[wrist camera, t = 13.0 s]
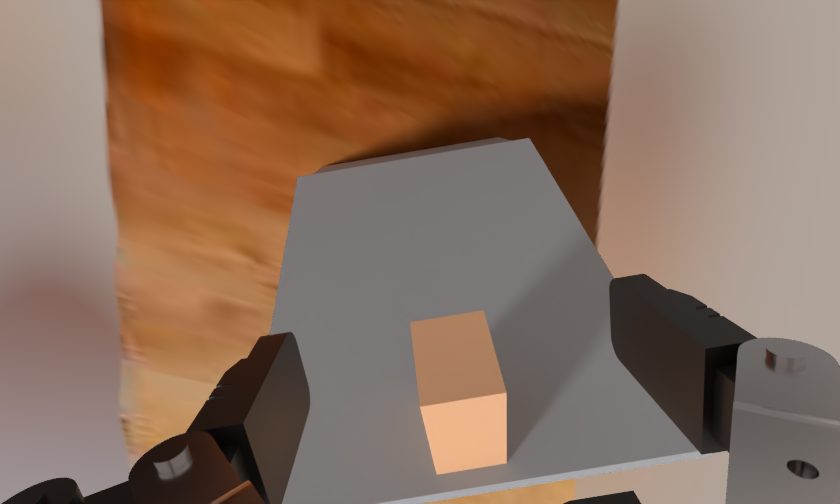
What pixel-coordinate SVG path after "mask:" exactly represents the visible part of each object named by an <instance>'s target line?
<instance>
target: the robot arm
mask: <svg viewBox="0 0 840 504" xmlns="http://www.w3.org/2000/svg"><path fill="white" fill-rule="evenodd" d="M609 299H610V327H611V341H612V345H613V349H614V351H615V354H616V356H617V358H618V359H619V361H620V362H621V363H622V364H623V365H624V366H625V368H626V369H627V370H628V371H629V372H630V373H631V374H632V376H633V377H634V378H635V379H636V380H637V381H638V383H639V384H640V385H641V386H642V387H643V388H644V389H645V391H646V392H647V393H648V394H649V395H650V396H651V397H652V399H653V400H654V401H655V402H656V403H657V404H658V405H659V407H660V408H661V409H662V410H663V411H664V412H665V413H666V415H667V416H668V417H669V418H670V419H671V420H672V421H673V423H674V424H675V425H676V426H677V427H678V428H679V429H680V431H681V432H682V433H683V434H684V435H685V436H686V438H687V439H688V440H689V441H690V442H691V443H692V444H693V446H694V447H695V448H696V449H697V450H698V451H699V452H700V454H701V455H703V454H709V453H716V452H721V451H728V452H729V466H728V479H727V492H726V504H840V366H839V364H838V362H837V361H836V359H835V358H834V357H833V356H831V355H830V354H829V353H827V352H825V351H824V350H822V349H820V348H817V347H815V346H813V345H810V344H806V343H803V342H799V341H795V340H790V339H783V338H756V337H755V336H753V335H751V334H750V333H749V332H747V331H745V330H744V329H742V328H741V327H739V326H738V325H736V324H735V323H733V322H731V321H730V320H728V319H727V318H725V317H724V316H720V314H719V313H717V312H716V311H714V310H713V309H711V308H707V306H706V305H705V304H703V303H702V302H700V301H699V300H697V299H696V298H694V297H692V296H690V295H687V294H684V293H681V292H678V291H675V290H672V289H666V288H665V287H663V286H662V285H660V284H659V283H658V282H656V281H654V280H653V279H651V278H650V277H649V276H647V275H645V274H639V275H633V276H628V277H621V278H615V279H612V280H611V282H610V286H609ZM216 387H217V388H216V389H214V390H213V392H212V393H211V395H210V396H209V400H207V401H206V402H205V404H204V405H203V407H202V409H201V410H200V412H199V413H198V415H197V416H196V418H195V419H194V421H193V422H192V424H191V425H190V427H189V428H188V430H187V431H186V433H183V434H179V435H177V436H174V437H171V438H169V439H167V440H165V441H163V442H161V443H159V444H158V445H156V446H154V447H153V448H151V449H150V450H149V451H147V452H146V453H145V454H144V455H143V456H142V457H141V458H139V460H138V461H137V462H136V463H135V464H134V466H133V467H132V469H131V471H130V473H129V477H128V481H126V482H124V483H121V484H118V485H116V486H113V487H110V488H108V489H105V490H102V491H100V492H97V493H94V494H92V495H89V496H86V497H83V496H82V494H81V492H80V489H79V487H78V485H77V483H76V482H75V481H74V480H73V479H70V478H56V479H51V480H47V481H44V482H41V483H38V484H36V485H34V486H31V487H29V488H27V489H25V490H23V491H22V492H19V493H18V494H16V495H14V496H13V497H11V498H10V499H8V500H7V501H5V502H3V503H2V504H282V502H283V498H284V495H285V492H286V488H287V485H288V481H289V478H290V475H291V471H292V468H293V464H294V461H295V458H296V454H297V451H298V448H299V444H300V441H301V437H302V434H303V431H304V427H305V424H306V420H307V417H308V414H309V410H310V391H309V385H308V381H307V378H306V374H305V370H304V367H303V363H302V359H301V356H300V352H299V348H298V345H297V341H296V338H295V336H294V334H293V333H292V332H285V333H279V334H273V335H267V336H261V337H260V338H259V339H258V341H257V343H256V344H255V346H254V348H253V349H252V351H251V353H250V354H249V356H248V358H246V359H241V360H240V361H238V362H237V363H236V364H235V365H234V366H232V367H231V368H230V369H229V370H227V371H226V372H225V373H224V375H223V376H222V378H221V380H220V381H219V383H218V384H217V386H216ZM564 504H641V503H640V501H639V499H638V498H637V496H636V494H635V493H634V491H629V492H622V493H616V494H610V495H604V496H597V497H591V498H585V499H579V500H573V501H568V502H566V503H564Z"/></svg>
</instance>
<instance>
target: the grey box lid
mask: <svg viewBox="0 0 840 504" xmlns="http://www.w3.org/2000/svg"><path fill="white" fill-rule="evenodd" d="M612 279H614V278H613V276H612V274H611V273H610V271H609V269H608V268H607V266H606V265H605V263H604V261H603V259H602V258H601V256H600V254H599V253H598V251H597V249H596V248H595V246H594V244H593V243H592V241H591V239H590V238H589V236H588V235H587V233H586V231H585V230H584V228H583V226H582V225H581V223H580V221H579V220H578V218H577V216H576V215H575V213H574V211H573V210H572V208H571V206H570V205H569V203H568V201H567V200H566V198H565V196H564V195H563V193H562V191H561V190H560V188H559V186H558V185H557V183H556V181H555V180H554V178H553V176H552V175H551V173H550V171H549V170H548V168H547V166H546V165H545V163H544V161H543V160H542V158H541V156H540V155H539V153H538V151H537V150H536V148H535V146H534V145H533V143H532V141H531V140H530V138H526V139H520V140H514V141H508V142H502V143H496V144H490V145H484V146H478V147H472V148H466V149H460V150H454V151H449V152H443V153H437V154H431V155H425V156H419V157H413V158H407V159H401V160H395V161H389V162H383V163H377V164H371V165H365V166H359V167H353V168H347V169H341V170H335V171H329V172H323V173H317V174H312V175H306V176H300V177H298V178H297V183H296V189H295V195H294V200H293V206H292V211H291V217H290V223H289V228H288V234H287V240H286V245H285V251H284V257H283V262H282V268H281V274H280V279H279V285H278V291H277V296H276V302H275V307H274V313H273V319H272V324H271V330H270V335H273V334H279V333H285V332H292V333H293V334H294V336H295V338H296V341H297V345H298V348H299V352H300V356H301V359H302V363H303V367H304V370H305V374H306V378H307V381H308V385H309V391H310V410H309V414H308V417H307V420H306V424H305V427H304V431H303V434H302V437H301V441H300V444H299V448H298V451H297V454H296V458H295V461H294V464H293V468H292V471H291V475H290V478H289V481H288V485H287V488H286V492H285V495H284V498H283V502H282V504H421V503H427V502H433V501H439V500H445V499H452V498H458V497H464V496H470V495H476V494H482V493H488V492H494V491H501V490H507V489H513V488H519V487H525V486H531V485H537V484H543V483H550V482H556V481H562V480H568V479H574V478H580V477H586V476H592V475H598V474H605V473H611V472H617V471H623V470H629V469H635V468H641V467H647V466H654V465H660V464H666V463H672V462H678V461H684V460H690V459H696V458H702V457H708V456H711V455H712V453H709V454H703V455H701V454H700V452H699V451H698V450H697V449H696V448H695V447H694V446H693V444H692V443H691V442H690V441H689V440H688V439H687V438H686V436H685V435H684V434H683V433H682V432H681V431H680V429H679V428H678V427H677V426H676V425H675V424H674V423H673V421H672V420H671V419H670V418H669V417H668V416H667V415H666V413H665V412H664V411H663V410H662V409H661V408H660V407H659V405H658V404H657V403H656V402H655V401H654V400H653V399H652V397H651V396H650V395H649V394H648V393H647V392H646V391H645V389H644V388H643V387H642V386H641V385H640V384H639V383H638V381H637V380H636V379H635V378H634V377H633V376H632V374H631V373H630V372H629V371H628V370H627V369H626V368H625V366H624V365H623V364H622V363H621V362H620V361H619V359H618V358H617V356H616V354H615V351H614V349H613V345H612V341H611V327H610V299H609V286H610V282H611V280H612Z"/></svg>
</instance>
